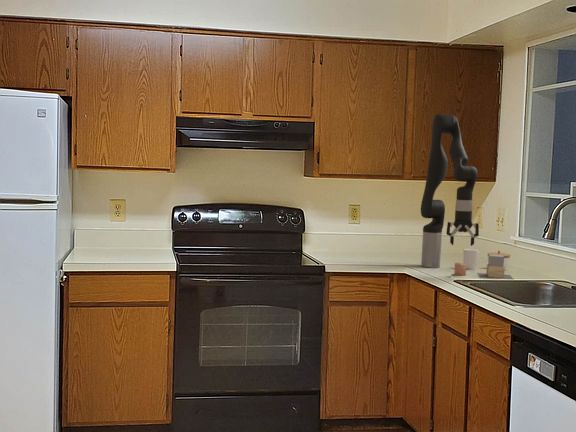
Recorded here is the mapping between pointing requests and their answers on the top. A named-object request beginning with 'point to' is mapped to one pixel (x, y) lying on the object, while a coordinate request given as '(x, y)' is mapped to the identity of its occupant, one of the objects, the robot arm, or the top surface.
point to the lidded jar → (506, 258)
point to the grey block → (496, 260)
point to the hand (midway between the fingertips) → (461, 245)
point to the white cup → (471, 258)
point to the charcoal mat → (483, 275)
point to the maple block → (495, 271)
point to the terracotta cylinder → (460, 269)
